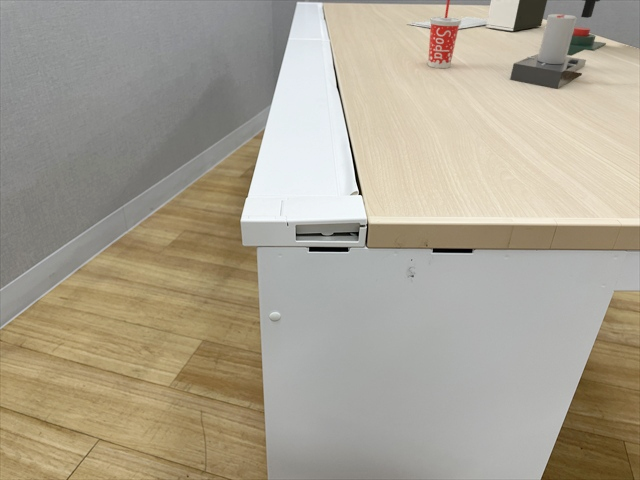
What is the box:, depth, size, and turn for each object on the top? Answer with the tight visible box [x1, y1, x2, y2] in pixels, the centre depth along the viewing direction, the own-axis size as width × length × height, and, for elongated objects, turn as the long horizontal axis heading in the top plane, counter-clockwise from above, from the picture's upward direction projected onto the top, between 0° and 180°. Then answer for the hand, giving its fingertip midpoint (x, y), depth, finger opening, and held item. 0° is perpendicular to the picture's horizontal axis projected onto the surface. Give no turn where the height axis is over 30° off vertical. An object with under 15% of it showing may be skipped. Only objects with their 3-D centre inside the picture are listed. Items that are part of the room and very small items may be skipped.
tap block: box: [509, 53, 587, 89], centre depth 95 cm, size 14×9×3 cm, turn 139°
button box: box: [567, 33, 607, 57], centre depth 116 cm, size 10×10×4 cm
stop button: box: [573, 26, 591, 36], centre depth 115 cm, size 4×4×2 cm
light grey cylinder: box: [537, 13, 578, 64], centre depth 92 cm, size 5×5×8 cm
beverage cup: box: [427, 0, 461, 69], centre depth 99 cm, size 6×6×14 cm
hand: (586, 16), depth 113 cm, fingers closed
